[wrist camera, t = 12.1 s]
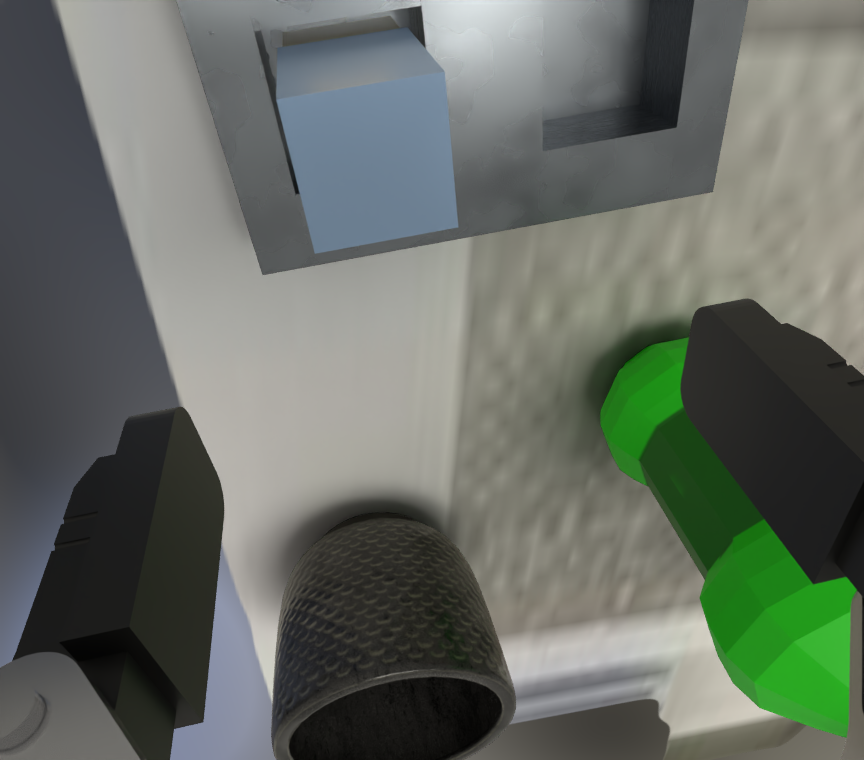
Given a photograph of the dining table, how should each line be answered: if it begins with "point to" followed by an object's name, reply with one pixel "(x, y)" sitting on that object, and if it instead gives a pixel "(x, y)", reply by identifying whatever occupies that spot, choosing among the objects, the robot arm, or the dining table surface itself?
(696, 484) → the plastic bottle
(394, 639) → the planter
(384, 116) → the plug
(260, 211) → the panel
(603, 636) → the dining table surface
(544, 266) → the dining table surface
